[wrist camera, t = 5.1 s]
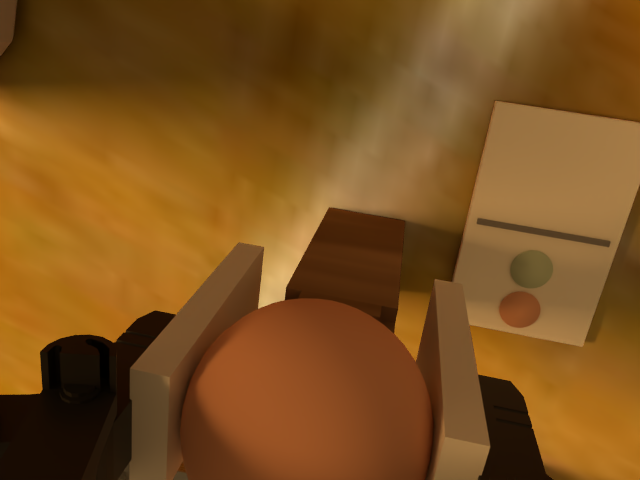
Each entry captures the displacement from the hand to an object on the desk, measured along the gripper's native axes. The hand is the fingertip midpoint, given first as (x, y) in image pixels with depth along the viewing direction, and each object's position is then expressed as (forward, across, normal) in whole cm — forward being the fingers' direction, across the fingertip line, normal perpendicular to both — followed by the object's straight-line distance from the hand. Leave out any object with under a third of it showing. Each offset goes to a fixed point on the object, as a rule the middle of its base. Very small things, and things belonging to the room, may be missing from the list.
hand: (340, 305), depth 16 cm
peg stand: (+5, 0, 0) cm, 5 cm away
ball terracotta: (-5, 0, 0) cm, 5 cm away
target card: (+5, +6, +2) cm, 8 cm away
